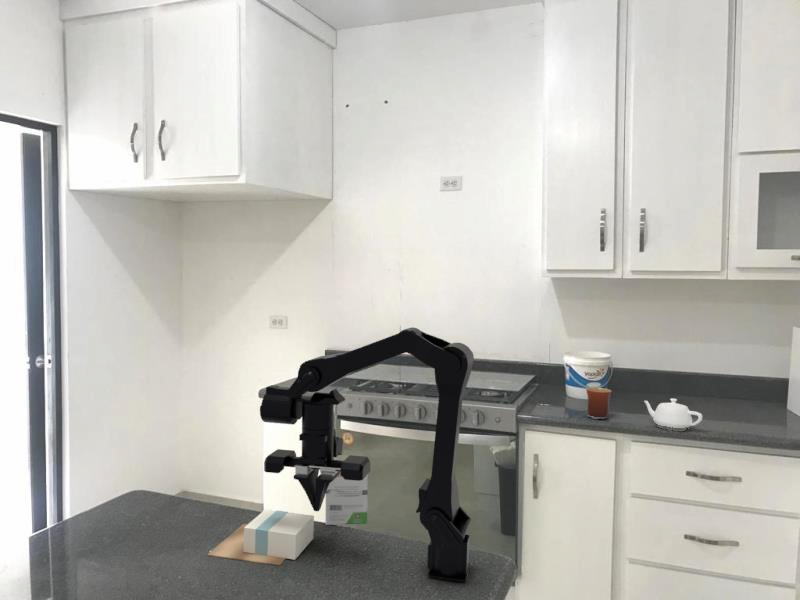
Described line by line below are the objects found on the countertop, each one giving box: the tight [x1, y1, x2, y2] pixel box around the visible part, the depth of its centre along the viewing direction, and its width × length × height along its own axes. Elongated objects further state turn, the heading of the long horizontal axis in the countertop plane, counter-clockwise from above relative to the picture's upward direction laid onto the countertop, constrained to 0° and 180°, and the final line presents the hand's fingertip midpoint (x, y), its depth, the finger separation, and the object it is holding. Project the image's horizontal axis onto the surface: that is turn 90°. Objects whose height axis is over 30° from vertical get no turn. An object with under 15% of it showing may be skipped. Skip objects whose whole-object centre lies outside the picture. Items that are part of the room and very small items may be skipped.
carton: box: [243, 508, 315, 561], centre depth 117 cm, size 5×9×10 cm
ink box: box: [325, 471, 369, 526], centre depth 130 cm, size 9×5×12 cm, turn 96°
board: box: [206, 523, 287, 567], centre depth 118 cm, size 14×14×1 cm
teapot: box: [643, 397, 703, 428], centre depth 215 cm, size 20×12×10 cm, turn 44°
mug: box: [585, 387, 613, 417], centre depth 228 cm, size 12×9×10 cm
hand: (317, 510), depth 115 cm, fingers closed
